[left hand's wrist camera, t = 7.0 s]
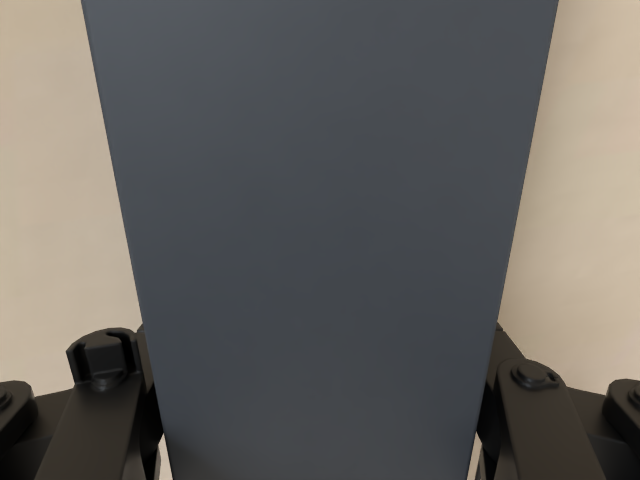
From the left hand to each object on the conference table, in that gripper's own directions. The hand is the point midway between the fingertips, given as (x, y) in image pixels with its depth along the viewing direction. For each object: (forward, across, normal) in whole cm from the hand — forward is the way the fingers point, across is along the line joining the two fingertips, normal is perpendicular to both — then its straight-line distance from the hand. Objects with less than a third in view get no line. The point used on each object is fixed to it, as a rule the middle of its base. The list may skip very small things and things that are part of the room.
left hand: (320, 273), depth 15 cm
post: (+1, 0, -20) cm, 20 cm away
